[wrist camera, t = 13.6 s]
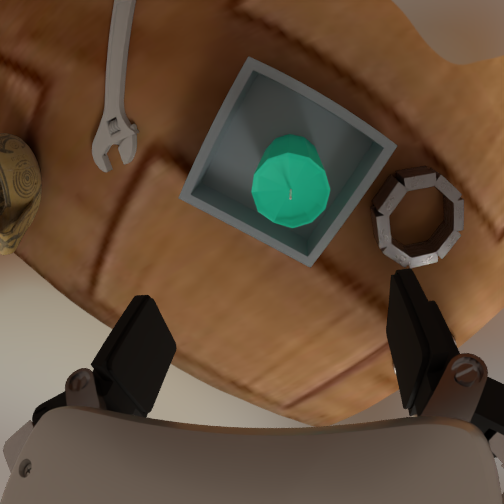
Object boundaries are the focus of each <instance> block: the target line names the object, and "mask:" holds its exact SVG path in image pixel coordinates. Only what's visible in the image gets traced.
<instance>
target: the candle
mask: <svg viewBox="0 0 504 504" xmlns="http://www.w3.org/2000/svg"><path fill="white" fill-rule="evenodd" d="M251 193H252V196H253V199H254V202H255V205H256V208H257V211H258V212H259V213H261V214H262V215H263V216H265V217H266V218H268V219H269V220H270V221H272V222H273V223H276V224H280V225H283V226H286V227H290V228H295V227H299V226H302V225H305V224H309V223H312V222H313V221H314V220H315V219H316V218H317V217H318V216H319V215H320V214H321V213H322V212H323V211H324V210H325V209H326V205H327V201H328V197H329V194H330V186H329V183H328V179H327V176H326V173H325V170H324V167H323V165H322V162H321V160H320V157H319V155H318V153H317V150H316V148H315V146H314V145H313V144H311V143H310V142H309V141H308V140H307V139H306V138H305V137H302V136H297V135H292V134H288V135H284V136H281V137H278V138H275V139H274V141H273V142H272V143H271V144H270V145H269V146H268V147H267V148H266V150H265V152H264V154H263V156H262V158H261V160H260V163H259V165H258V167H257V169H256V171H255V173H254V177H253V184H252V190H251Z"/></svg>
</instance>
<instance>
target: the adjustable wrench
mask: <svg viewBox="0 0 504 504" xmlns="http://www.w3.org/2000/svg"><path fill="white" fill-rule="evenodd" d="M135 3H136V0H114V6H113V13H112V19H111V27H110V35H109V44H108V54H107V67H106V84H105V107H104V112H103V116H102V119H101V123H100V126H99V128H98V131H97V133H96V136H95V138H94V141H93V144H92V155H93V159H94V161H95V163H96V165H97V166H98V167H99V168H100V169H101V170H102V171H104V172H108V171H110V170H112V166H111V164H110V161H109V159H108V156H107V152H108V150H109V149H110V147H111V145H112V144H117V145H120V146H119V148H118V150H119V153H120V155H121V158H122V161H123V163H124V165H125V164H127V163H129V162H131V161H132V160H133V158H134V155H135V153H136V148H137V135H136V133H139V131H138V130H137V126H136V125H135V124H132V125H131V123H130V121H129V120H128V118H127V116H126V114H125V110H124V90H125V77H126V66H127V57H128V48H129V40H130V33H131V26H132V20H133V14H134V8H135ZM114 118H117V119H115V120H113V121H111V120H112V119H114Z"/></svg>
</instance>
